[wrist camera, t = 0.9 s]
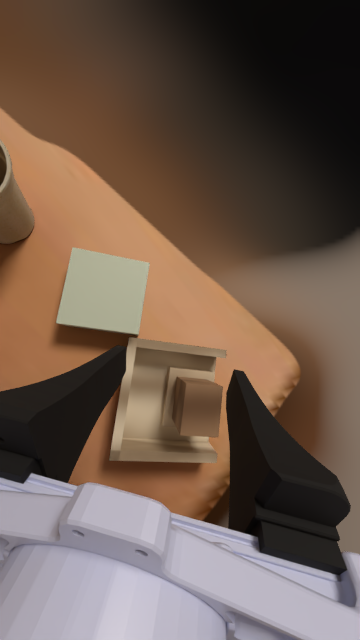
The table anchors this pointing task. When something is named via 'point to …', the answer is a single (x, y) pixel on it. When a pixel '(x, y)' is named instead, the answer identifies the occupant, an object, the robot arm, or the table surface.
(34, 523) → the robot arm
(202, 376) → the birch box
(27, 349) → the table surface
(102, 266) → the sage stand
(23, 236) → the flower pot
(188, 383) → the walnut block
